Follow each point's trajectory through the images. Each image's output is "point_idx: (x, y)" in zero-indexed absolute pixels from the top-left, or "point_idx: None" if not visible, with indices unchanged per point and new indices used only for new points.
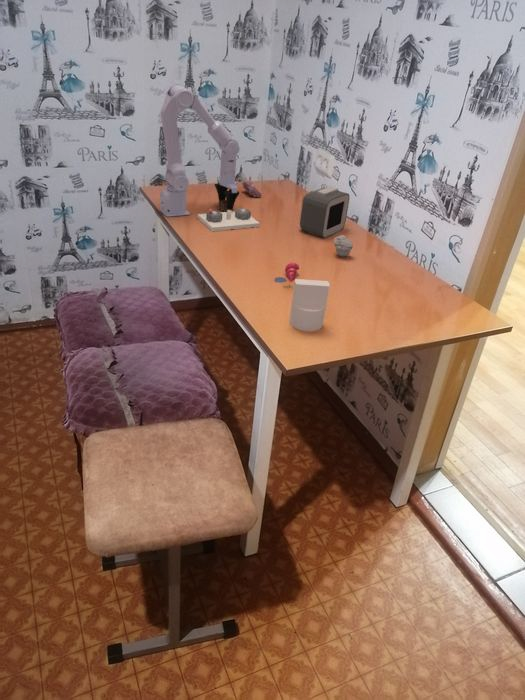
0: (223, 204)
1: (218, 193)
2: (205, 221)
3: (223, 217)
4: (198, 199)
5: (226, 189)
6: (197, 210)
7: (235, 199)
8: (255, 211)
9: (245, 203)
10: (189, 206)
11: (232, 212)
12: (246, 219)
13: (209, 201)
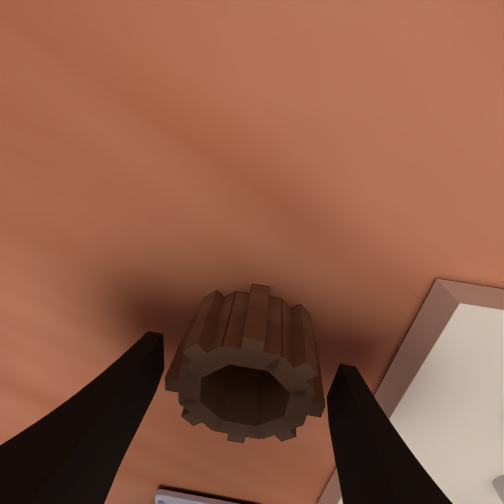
0: (289, 435)
1: (111, 476)
2: None
3: (464, 489)
4: (5, 372)
5: (62, 480)
6: (207, 458)
7: (435, 488)
8: (470, 71)
9: (123, 10)
10: (135, 456)
11: (428, 407)
12: None
13: (45, 337)
